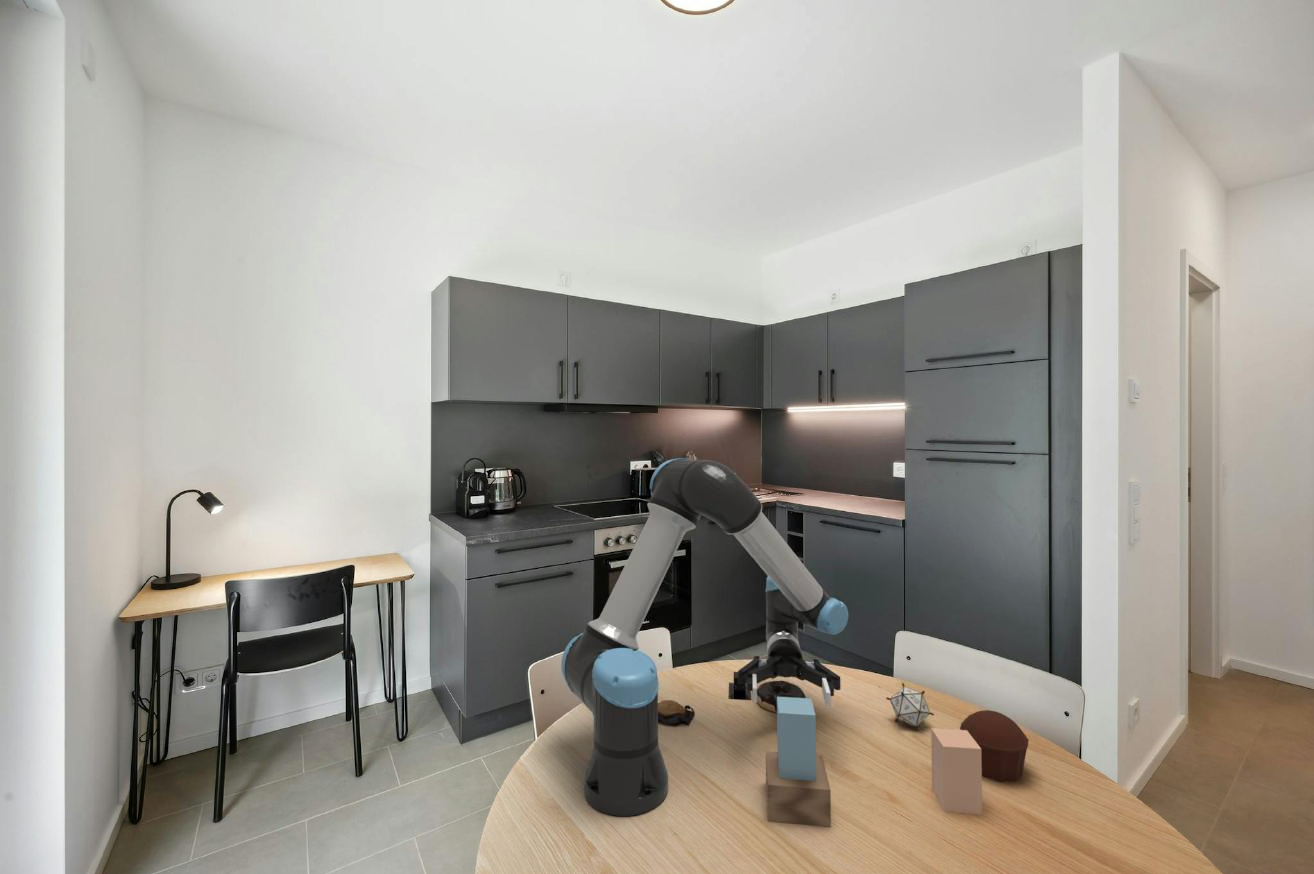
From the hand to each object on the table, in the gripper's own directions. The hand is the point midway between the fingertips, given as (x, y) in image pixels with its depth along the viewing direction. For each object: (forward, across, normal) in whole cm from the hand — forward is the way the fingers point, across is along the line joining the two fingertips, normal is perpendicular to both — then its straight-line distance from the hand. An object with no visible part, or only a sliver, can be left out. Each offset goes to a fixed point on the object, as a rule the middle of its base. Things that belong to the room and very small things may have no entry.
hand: (791, 697), depth 106 cm
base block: (+9, 0, +14) cm, 17 cm away
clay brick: (+4, +27, +14) cm, 31 cm away
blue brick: (+9, 0, +8) cm, 12 cm away
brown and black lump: (-18, -26, +15) cm, 35 cm away
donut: (-28, -1, +15) cm, 31 cm away
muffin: (-7, +38, +14) cm, 41 cm away
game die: (-22, +27, +14) cm, 38 cm away
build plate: (-33, -10, +15) cm, 38 cm away
